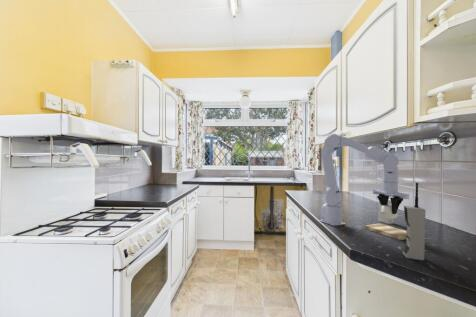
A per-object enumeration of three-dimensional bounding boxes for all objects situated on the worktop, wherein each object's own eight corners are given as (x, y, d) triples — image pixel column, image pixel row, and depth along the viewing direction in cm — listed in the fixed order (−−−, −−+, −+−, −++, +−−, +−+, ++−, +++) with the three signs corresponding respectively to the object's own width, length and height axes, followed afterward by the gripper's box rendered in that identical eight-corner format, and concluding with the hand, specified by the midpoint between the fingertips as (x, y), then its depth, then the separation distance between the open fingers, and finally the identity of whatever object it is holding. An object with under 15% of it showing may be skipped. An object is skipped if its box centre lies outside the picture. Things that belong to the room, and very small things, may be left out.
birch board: (364, 228, 109) (364, 225, 109) (379, 226, 113) (379, 223, 113) (400, 240, 95) (400, 236, 95) (415, 237, 99) (415, 233, 99)
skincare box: (377, 220, 124) (378, 197, 124) (384, 220, 125) (384, 197, 125) (388, 224, 118) (388, 199, 118) (394, 223, 119) (395, 199, 119)
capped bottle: (377, 217, 103) (377, 205, 103) (390, 215, 107) (391, 204, 107) (385, 219, 100) (385, 207, 100) (399, 217, 104) (399, 205, 104)
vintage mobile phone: (402, 253, 81) (404, 181, 81) (420, 256, 79) (422, 182, 79) (405, 258, 78) (407, 182, 77) (424, 260, 76) (426, 183, 75)
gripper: (368, 180, 109) (368, 209, 109) (401, 184, 95) (401, 217, 96) (378, 180, 112) (378, 208, 112) (412, 183, 98) (411, 215, 99)
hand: (389, 212), depth 104 cm, fingers closed on capped bottle, 4 cm apart
